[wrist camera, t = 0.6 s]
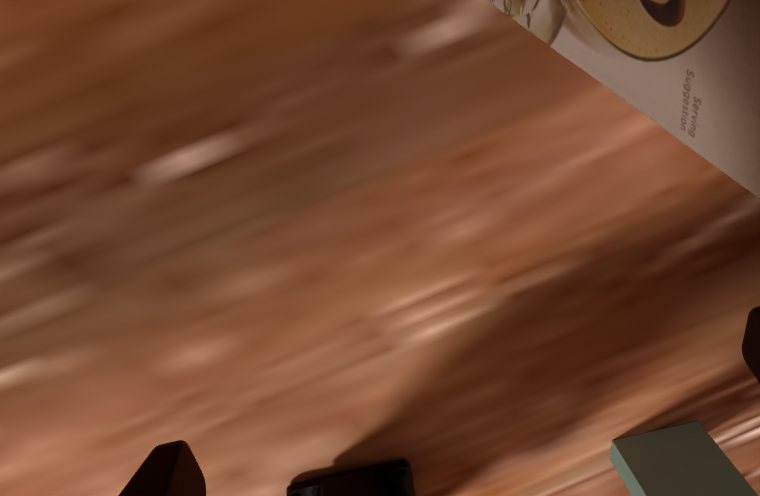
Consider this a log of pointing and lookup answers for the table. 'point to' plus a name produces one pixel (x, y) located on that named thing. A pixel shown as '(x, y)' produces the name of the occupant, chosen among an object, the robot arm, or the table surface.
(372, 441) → the table surface
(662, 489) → the teal domino
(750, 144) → the coffee box
